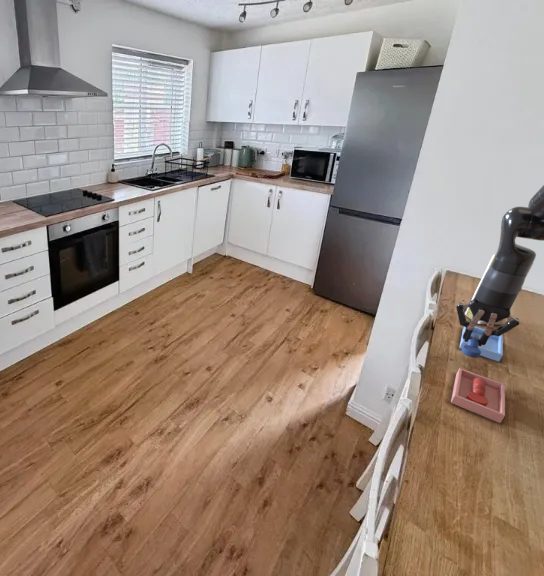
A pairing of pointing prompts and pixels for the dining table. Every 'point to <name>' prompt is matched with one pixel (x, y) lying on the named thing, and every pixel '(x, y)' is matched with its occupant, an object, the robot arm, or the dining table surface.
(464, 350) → the blue elongated piece
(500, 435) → the dining table surface
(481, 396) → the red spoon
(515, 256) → the robot arm
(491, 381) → the red tray
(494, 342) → the blue tray
